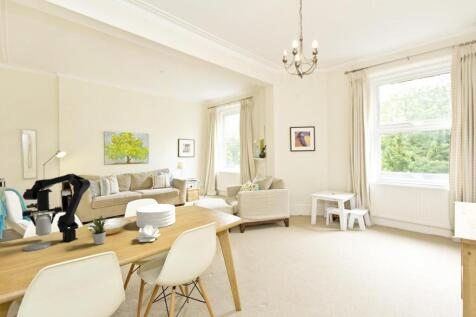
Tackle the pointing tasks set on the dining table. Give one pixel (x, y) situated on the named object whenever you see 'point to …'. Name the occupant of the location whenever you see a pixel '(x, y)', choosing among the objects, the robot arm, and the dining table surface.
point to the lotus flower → (148, 233)
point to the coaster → (37, 246)
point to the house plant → (98, 230)
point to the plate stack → (155, 215)
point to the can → (43, 224)
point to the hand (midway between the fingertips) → (43, 225)
